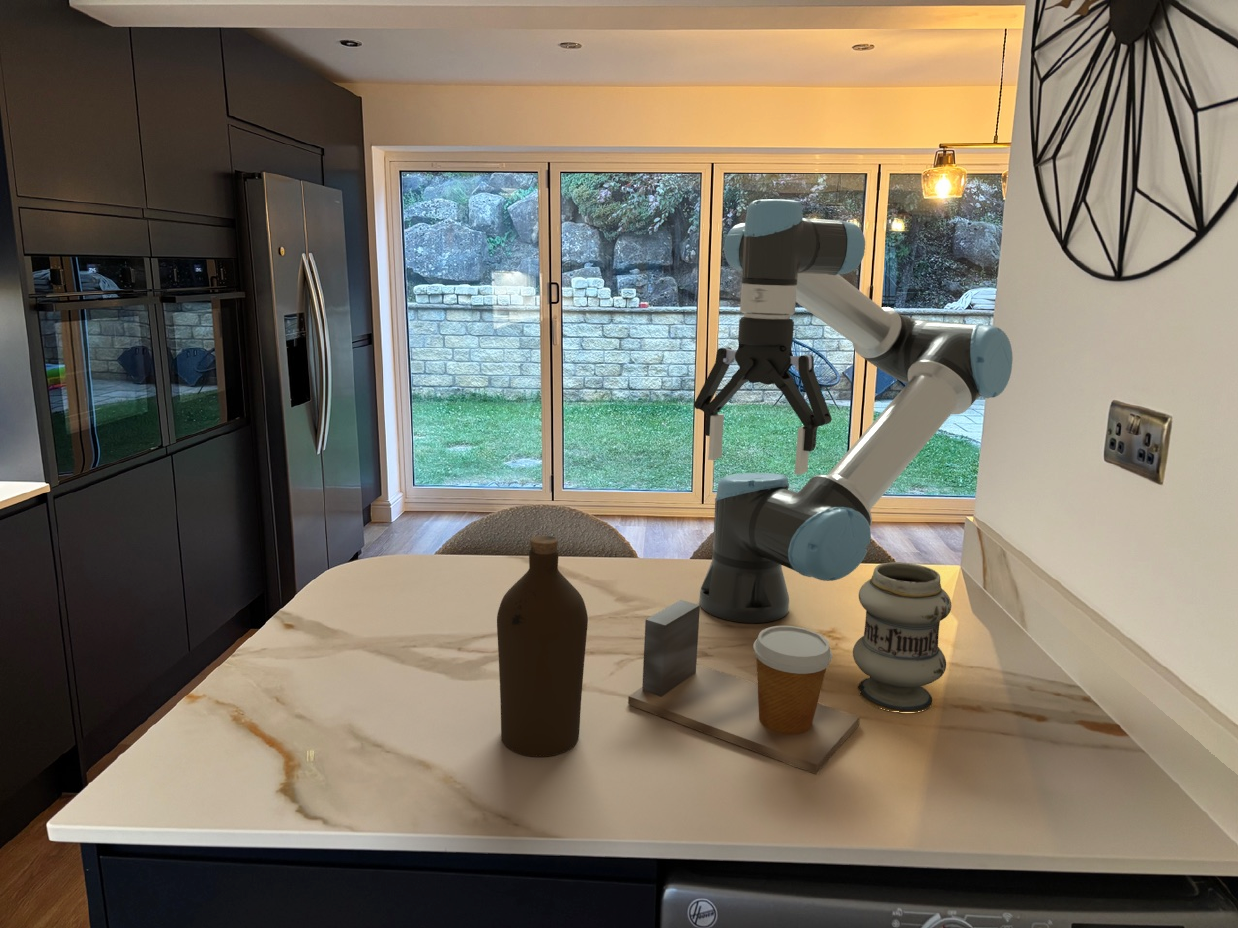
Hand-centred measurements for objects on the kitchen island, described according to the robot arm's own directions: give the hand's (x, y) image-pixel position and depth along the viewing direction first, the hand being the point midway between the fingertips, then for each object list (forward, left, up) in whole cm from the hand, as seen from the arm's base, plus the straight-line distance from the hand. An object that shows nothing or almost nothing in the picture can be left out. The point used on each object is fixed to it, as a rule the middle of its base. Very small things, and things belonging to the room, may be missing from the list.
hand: (756, 465), depth 126 cm
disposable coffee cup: (+15, -18, -29) cm, 37 cm away
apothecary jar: (+23, 0, -29) cm, 37 cm away
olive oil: (-8, -38, -29) cm, 48 cm away
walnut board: (+9, -18, -29) cm, 35 cm away
